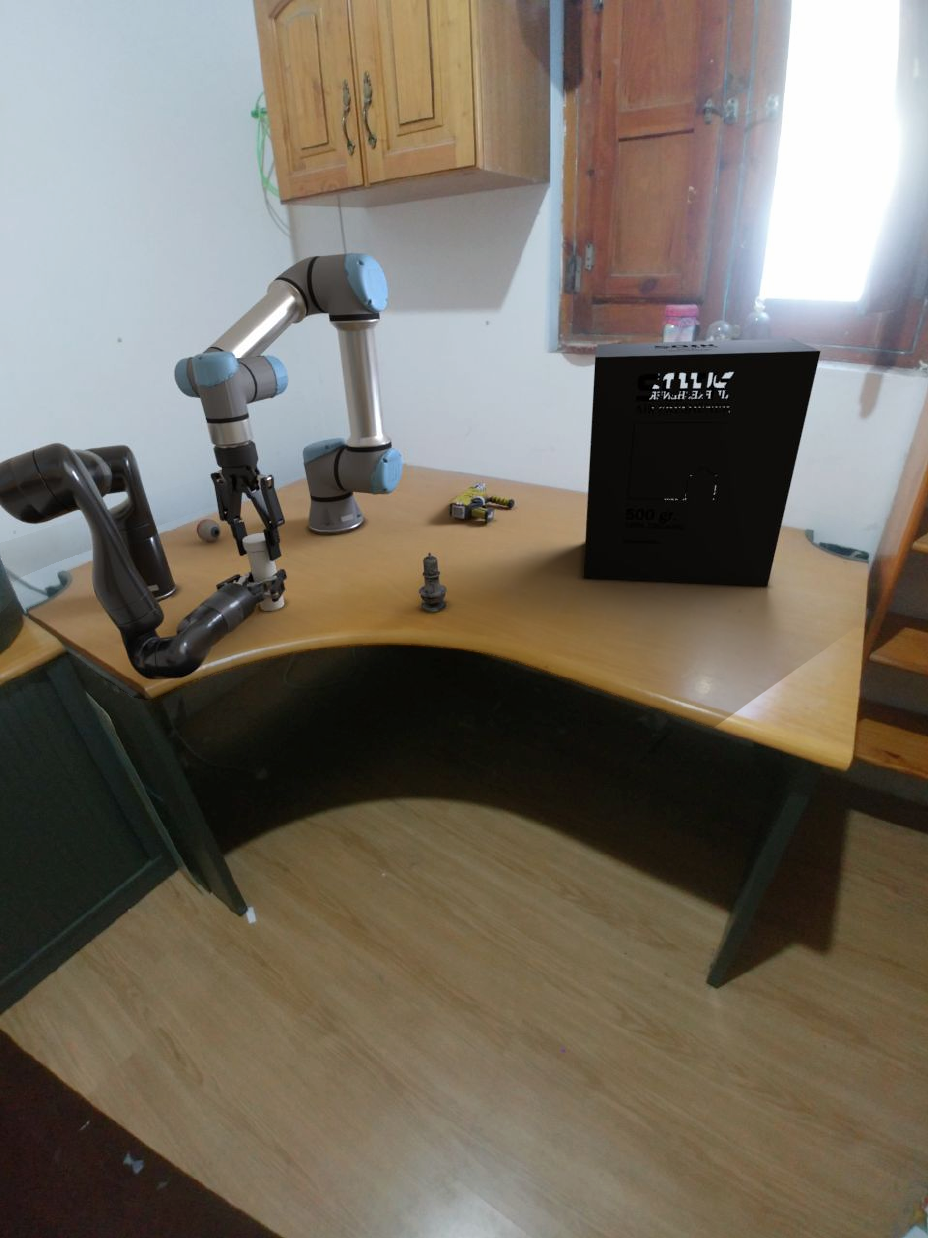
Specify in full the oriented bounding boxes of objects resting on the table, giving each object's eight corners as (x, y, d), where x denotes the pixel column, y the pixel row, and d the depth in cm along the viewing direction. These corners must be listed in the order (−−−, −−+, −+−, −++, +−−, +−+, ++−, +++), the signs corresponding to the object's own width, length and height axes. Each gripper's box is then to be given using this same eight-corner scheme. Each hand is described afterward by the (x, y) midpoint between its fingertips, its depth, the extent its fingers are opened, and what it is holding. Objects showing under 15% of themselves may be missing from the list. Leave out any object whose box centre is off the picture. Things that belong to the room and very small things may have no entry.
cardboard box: (748, 547, 142) (790, 338, 120) (767, 586, 125) (820, 350, 103) (586, 541, 150) (597, 344, 127) (583, 577, 133) (595, 357, 110)
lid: (262, 539, 126) (260, 530, 125) (278, 544, 123) (276, 536, 122) (238, 548, 122) (236, 539, 121) (254, 554, 119) (252, 545, 118)
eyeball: (210, 546, 160) (204, 525, 157) (195, 542, 163) (189, 521, 160) (228, 538, 164) (223, 518, 161) (213, 535, 167) (208, 514, 164)
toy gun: (522, 487, 180) (475, 480, 184) (500, 511, 160) (447, 502, 164) (521, 502, 182) (474, 495, 186) (499, 527, 162) (447, 519, 166)
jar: (275, 598, 132) (260, 533, 125) (288, 603, 130) (274, 538, 122) (256, 607, 129) (239, 541, 122) (269, 613, 126) (253, 546, 119)
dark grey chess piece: (444, 613, 122) (440, 559, 116) (416, 611, 123) (411, 558, 117) (450, 599, 127) (447, 547, 121) (424, 598, 128) (419, 546, 122)
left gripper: (253, 596, 111) (299, 558, 125) (187, 589, 114) (239, 553, 128) (262, 630, 114) (305, 590, 128) (198, 624, 118) (247, 585, 132)
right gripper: (289, 440, 111) (311, 554, 123) (207, 435, 119) (235, 543, 130) (262, 451, 105) (288, 569, 117) (178, 444, 113) (210, 556, 124)
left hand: (272, 572), depth 128 cm, fingers closed on jar, 5 cm apart
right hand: (260, 555), depth 124 cm, fingers open, 7 cm apart
